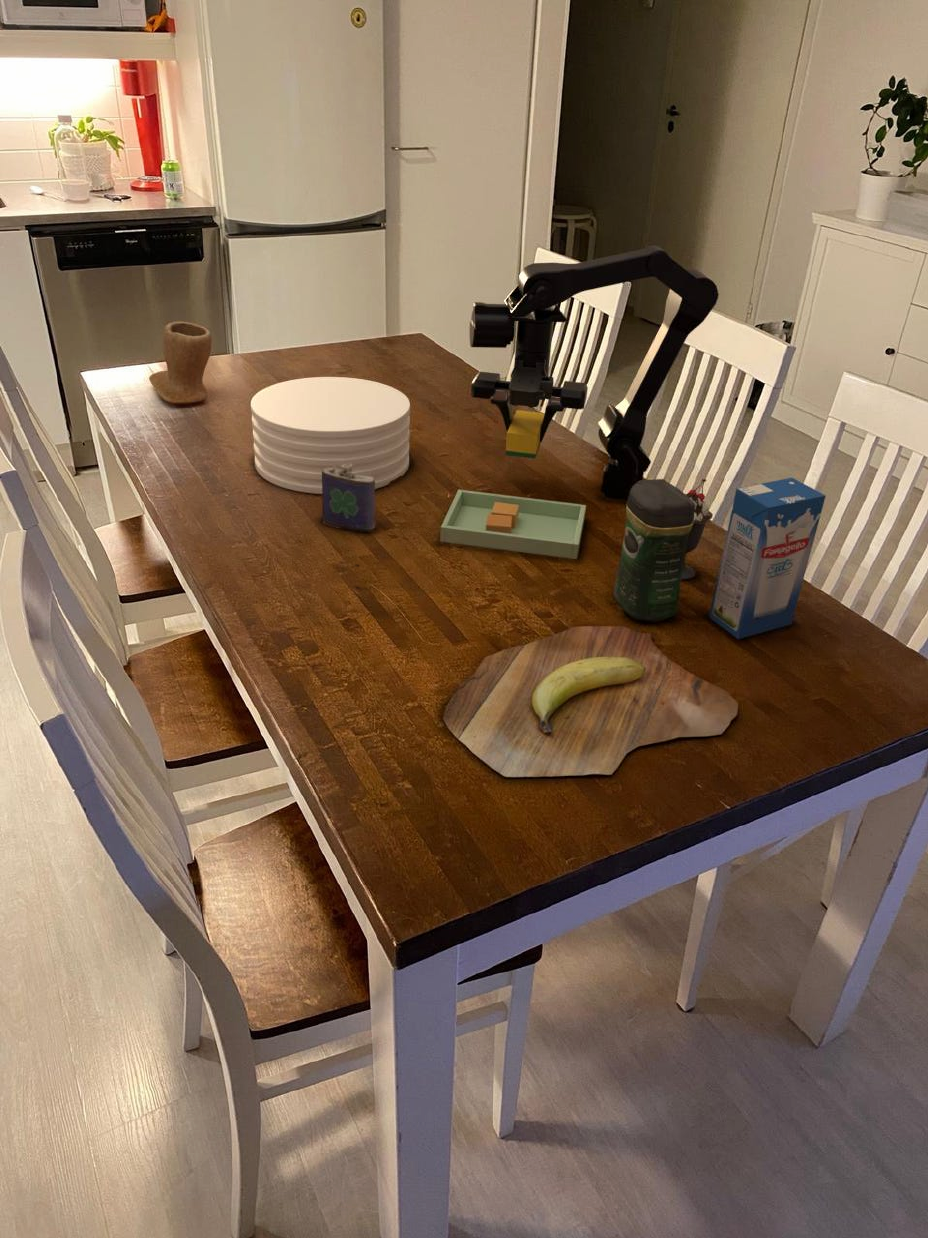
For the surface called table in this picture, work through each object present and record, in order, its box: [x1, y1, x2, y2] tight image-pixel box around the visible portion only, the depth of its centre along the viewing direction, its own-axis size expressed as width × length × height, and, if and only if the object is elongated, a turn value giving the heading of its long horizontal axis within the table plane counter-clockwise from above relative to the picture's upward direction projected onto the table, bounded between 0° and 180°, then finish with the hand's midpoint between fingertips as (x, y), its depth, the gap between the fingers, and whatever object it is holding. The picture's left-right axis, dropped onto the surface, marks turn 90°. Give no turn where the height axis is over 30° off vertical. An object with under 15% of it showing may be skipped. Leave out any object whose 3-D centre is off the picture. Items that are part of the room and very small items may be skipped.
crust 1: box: [491, 502, 519, 529], centre depth 159 cm, size 4×4×2 cm
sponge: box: [504, 409, 545, 459], centre depth 165 cm, size 5×11×4 cm, turn 169°
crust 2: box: [486, 514, 512, 534], centre depth 156 cm, size 4×4×2 cm
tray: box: [439, 489, 587, 560], centre depth 157 cm, size 22×15×3 cm
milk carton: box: [708, 477, 827, 640], centre depth 133 cm, size 10×6×20 cm, turn 117°
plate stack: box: [250, 376, 411, 495], centre depth 176 cm, size 28×28×12 cm
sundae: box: [681, 478, 713, 581], centre depth 146 cm, size 7×7×15 cm
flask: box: [321, 463, 376, 534], centre depth 155 cm, size 9×3×11 cm, turn 68°
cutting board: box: [442, 625, 739, 778], centre depth 119 cm, size 35×27×4 cm
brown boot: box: [148, 321, 213, 404], centre depth 201 cm, size 15×12×15 cm
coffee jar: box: [613, 478, 695, 623], centre depth 135 cm, size 10×8×19 cm
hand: (525, 439), depth 165 cm, fingers closed on sponge, 5 cm apart
